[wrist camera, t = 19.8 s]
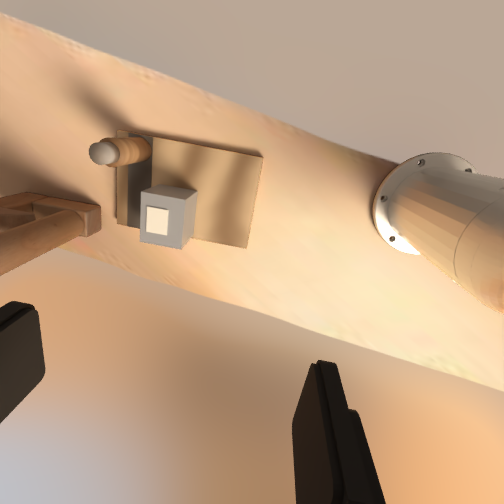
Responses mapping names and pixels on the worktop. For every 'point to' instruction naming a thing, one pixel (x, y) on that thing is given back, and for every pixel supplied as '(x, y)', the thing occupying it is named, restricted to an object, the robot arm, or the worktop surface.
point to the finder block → (167, 215)
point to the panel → (195, 186)
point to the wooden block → (41, 226)
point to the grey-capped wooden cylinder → (120, 151)
